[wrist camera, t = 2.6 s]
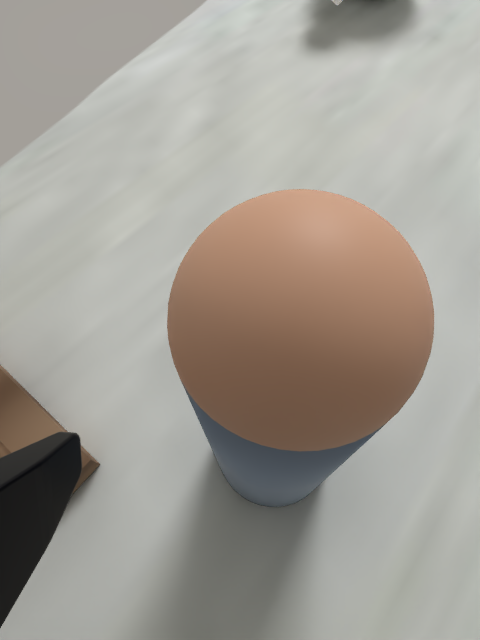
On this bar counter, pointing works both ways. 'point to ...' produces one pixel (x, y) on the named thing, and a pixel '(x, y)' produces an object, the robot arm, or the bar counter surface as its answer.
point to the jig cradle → (29, 423)
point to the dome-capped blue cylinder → (297, 336)
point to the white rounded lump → (337, 1)
